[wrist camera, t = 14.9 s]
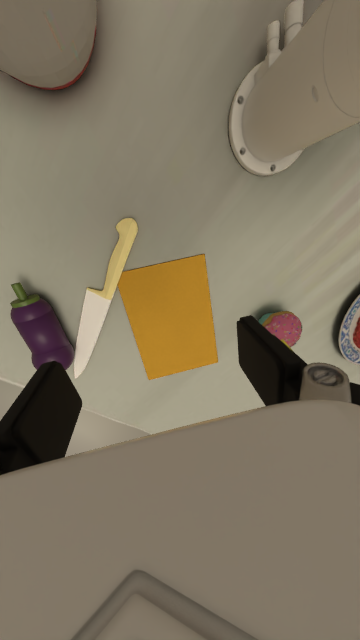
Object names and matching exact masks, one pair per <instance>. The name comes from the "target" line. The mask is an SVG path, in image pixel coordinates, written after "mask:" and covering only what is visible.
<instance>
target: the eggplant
mask: <svg viewBox="0 0 360 640" xmlns="http://www.w3.org/2000/svg"><path fill="white" fill-rule="evenodd" d="M11 286H12V288H13V290H14V292H15V293H16V295H17V297H18V299H17V300H15V301H13V302H11V303H10V304H11V306H12V310H11V319H12V321H13V323H14V324H15V326H16V328H17V329H18V331H19V333H20V334H21V336H22V338H23V339H24V341H25V342H26V344H27V346H28V347H29V349H30V351H31V352H32V363H33V365H34V367H35V368H36V369H37V370H38V368H39V367H40V366H41V364H43V363H47V362H51V361H57V362H58V363H61V364H62V365H63V367H64V369H65V370H66V369H68V368H69V367H70V365H71V364H72V362H73V360H74V349H73V347H72V346H71V344H70V343H69V341H68V339H67V337H66V335H65V333H64V331H63V329H62V327H61V325H60V323H59V321H58V319H57V317H56V315H55V313H54V311H53V309H52V307H51V306H50V304H49V303H48V302H46V301H45V300H43V299H41V298H40V297H39V295H37V294H35V295H29V296H27V294H26V292H25V290H24V289H23V287H22V285H21V283H20V282H19V283H14V284H12V285H11Z"/></svg>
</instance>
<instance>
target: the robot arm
mask: <svg viewBox="0 0 360 640" xmlns="http://www.w3.org/2000/svg"><path fill="white" fill-rule="evenodd" d="M303 6H304V0H295V1H293V2H292V3H290V4H289V5H288V6H287V8H286V10H285V17H284V35H285V46H284V48H283V49H282V51H281V50H280V49H279V35H280V22H279V21H278V20H276V21H273V22H272V23H270V24H269V25H268V27H267V55H266V57H265V60H264V61H262V62H261V63H259V64H258V65H256V66H255V67H254V68H253V69H252V70H251V71H250V72H249V73H248V74H247V75H246V77H245V78H244V80H243V81H242V82H241V84H240V86H239V88H238V90H237V91H236V94H235V96H234V99H233V102H232V105H231V109H230V114H229V125H228V126H229V138H230V143H231V147H232V150H233V152H234V155H235V157H236V158H237V160H238V162H239V163H240V164H241V165H242V166H243V167H244V169H246V170H247V171H249V172H250V173H253V174H255V175H260V176H268V175H273V174H276V173H278V172H280V171H282V170H284V169H286V168H287V167H289V166H290V165H291V164H292V163H293V162H294V161H295V160H296V159H297V158H298V157H299V155H300V154H301V152H302V151H303V149H304V148H306V147H308V146H310V145H312V144H314V143H316V142H318V141H320V140H323V139H325V138H327V137H329V136H331V135H333V134H335V133H337V132H340V131H342V130H344V129H346V128H348V127H350V126H352V125H354V124H357V123H359V122H360V0H324V1H323V2H322V4H321V5H320V6H319V7H318V9H317V10H316V11H315V12H314V14H313V15H312V16H311V17H310V18H309V20H308V21H307V22H306V23H305V25H304V26H303V27H302V24H303ZM301 27H302V28H301ZM238 102H239V104H238ZM240 151H241V154H240ZM270 168H271V170H270ZM237 337H238V354H239V364H240V366H241V368H242V370H243V371H244V373H245V374H246V376H247V378H248V379H249V381H250V382H251V384H252V385H253V387H254V388H255V390H256V391H257V393H258V395H259V396H260V398H261V399H262V401H263V402H264V404H265V405H266V406H265V407H261V408H257V409H252V410H248V411H244V412H240V413H235V414H231V415H227V416H223V417H219V418H215V419H211V420H207V421H203V422H199V423H195V424H191V425H187V426H183V427H179V428H176V429H172V430H168V431H164V432H160V433H156V434H152V435H148V436H144V437H140V438H136V439H133V440H129V441H125V442H121V443H117V444H113V445H109V446H106V447H102V448H98V449H94V450H91V451H87V452H83V453H79V454H76V455H71V456H68V457H65V454H66V451H67V448H68V445H69V442H70V439H71V436H72V433H73V431H74V427H75V425H76V422H77V419H78V416H79V413H80V410H81V407H82V400H81V398H80V396H79V394H78V392H77V390H76V389H75V387H74V385H73V383H72V382H71V380H70V378H69V376H68V374H67V373H66V371H65V369H64V367H63V365H62V364H61V363H58V362H57V361H51V362H47V363H43V364H41V366H40V367H39V368H38V370H37V371H36V373H35V374H34V375H33V377H32V378H31V379H30V381H29V382H28V384H27V385H26V386H25V388H24V389H23V391H22V392H21V393H20V395H19V396H18V398H17V399H16V400H15V402H14V403H13V404H12V406H11V407H10V409H9V410H8V411H7V413H6V414H5V415H4V417H3V418H2V420H1V421H0V640H360V385H359V384H355V383H351V382H349V378H348V376H347V374H346V373H345V372H344V371H342V370H341V369H339V368H338V367H335V366H333V365H330V364H326V363H311V364H307V363H305V362H304V361H303V360H302V359H301V358H300V357H299V356H298V355H296V354H295V353H294V352H293V351H292V350H291V349H290V348H289V347H287V346H286V345H285V344H284V343H283V342H282V341H281V340H280V339H278V338H277V337H276V336H275V335H273V334H271V333H270V332H269V331H268V330H267V329H266V328H265V327H264V326H263V325H261V324H260V323H259V322H258V321H257V320H256V319H255V318H254V317H253V316H251V315H250V316H246V317H242V318H240V321H237Z"/></svg>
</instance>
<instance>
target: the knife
mask: <svg viewBox="0 0 360 640" xmlns="http://www.w3.org/2000/svg"><path fill="white" fill-rule="evenodd" d="M116 229H117V231H118V232H119V241H118V243H117V245H116V247H115V249H114V251H113V254H112V256H111V258H110V262H109V265H108V271H107V276H106V280H105V285H104V289H103V290H102V291H98V290H95V289H91V288H88V287H87V291H86V295H85V300H84V304H83V309H82V314H81V320H80V325H79V331H78V336H77V342H76V350H75V360H74V374H75V379H76V378H77V377H78V376H79V375H80V374H81V373H82V372H83V370H84V369H85V367H86V365H87V363H88V361H89V359H90V356H91V354H92V352H93V349H94V347H95V344H96V341H97V339H98V336H99V334H100V331H101V328H102V325H103V323H104V320H105V317H106V314H107V312H108V309H109V306H110V304H111V301H112V298H113V295H114V293H115V290H116V287H117V284H118V282H119V279H120V276H121V273H122V271H123V268H124V265H125V263H126V260H127V257H128V255H129V252H130V249H131V247H132V244H133V242H134V239H135V237H136V234H137V231H138V226H137V223H136V222H135V220H134V219H132V218H126V219H123V220H121V221H120V222H119V223H118V224H117V226H116Z"/></svg>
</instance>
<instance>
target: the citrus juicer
mask: <svg viewBox="0 0 360 640" xmlns="http://www.w3.org/2000/svg"><path fill="white" fill-rule="evenodd" d="M96 20H97V0H0V70H1V71H3V72H5V73H7V74H9V75H10V76H12V77H13V78H15V79H17V80H19V81H21V82H23V83H24V84H26V85H29V86H33V87H36V88H40V89H48V90H58V89H63V88H66V87H68V86H70V85H72V84H74V83H75V82H76V81H77V80H78V79H79V78H80V77H81V75H82V74H83V72H84V71H85V69H86V67H87V65H88V63H89V60H90V57H91V54H92V51H93V48H94V42H95V36H96Z"/></svg>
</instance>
